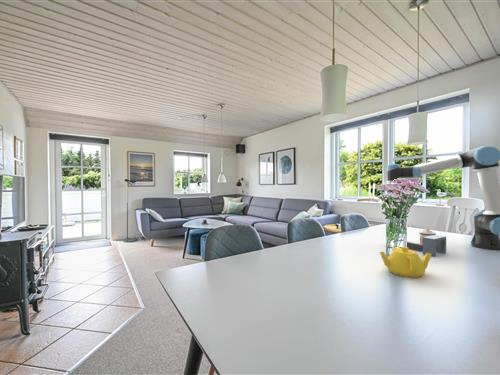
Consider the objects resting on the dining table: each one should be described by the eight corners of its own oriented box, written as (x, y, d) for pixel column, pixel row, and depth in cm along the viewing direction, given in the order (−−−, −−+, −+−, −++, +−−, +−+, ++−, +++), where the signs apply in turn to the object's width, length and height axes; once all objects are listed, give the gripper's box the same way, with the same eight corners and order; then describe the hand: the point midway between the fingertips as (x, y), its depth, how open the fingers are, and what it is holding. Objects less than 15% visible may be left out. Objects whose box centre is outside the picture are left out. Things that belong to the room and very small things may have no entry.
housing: (434, 250, 152) (434, 234, 152) (446, 253, 147) (446, 236, 147) (422, 254, 146) (422, 237, 145) (434, 256, 140) (434, 239, 140)
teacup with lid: (416, 245, 166) (416, 228, 166) (424, 243, 170) (423, 227, 170) (436, 249, 155) (436, 231, 155) (443, 247, 159) (443, 229, 159)
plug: (392, 243, 172) (392, 235, 172) (426, 250, 152) (426, 241, 152) (386, 244, 169) (386, 236, 169) (421, 252, 150) (421, 242, 150)
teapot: (416, 282, 104) (416, 254, 104) (377, 271, 118) (377, 246, 118) (432, 273, 114) (432, 248, 114) (394, 264, 127) (394, 241, 127)
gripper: (387, 187, 158) (387, 219, 159) (409, 186, 170) (409, 217, 171) (376, 187, 165) (377, 218, 165) (398, 186, 177) (398, 215, 177)
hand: (393, 217), depth 168 cm, fingers open, 13 cm apart
